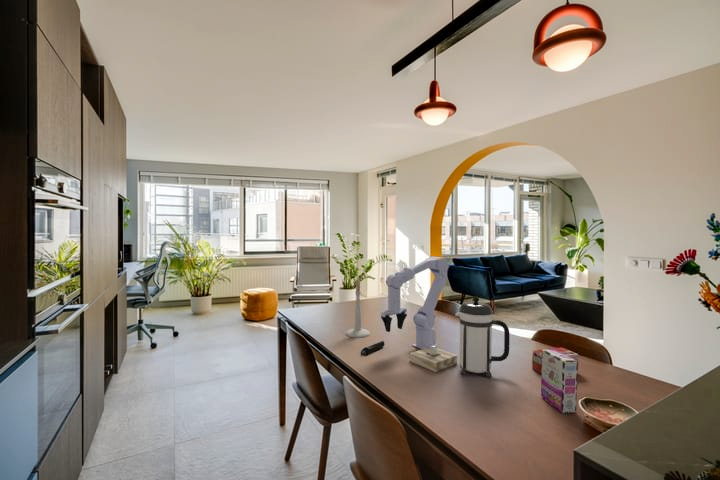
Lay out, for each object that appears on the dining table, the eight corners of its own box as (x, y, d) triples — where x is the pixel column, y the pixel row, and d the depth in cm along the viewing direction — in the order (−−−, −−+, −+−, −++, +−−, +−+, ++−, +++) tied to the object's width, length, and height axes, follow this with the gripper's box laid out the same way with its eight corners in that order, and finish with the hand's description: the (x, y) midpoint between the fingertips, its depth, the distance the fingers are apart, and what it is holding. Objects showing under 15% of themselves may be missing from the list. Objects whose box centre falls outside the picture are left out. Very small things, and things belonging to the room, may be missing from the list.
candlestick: (374, 333, 188) (374, 278, 187) (361, 339, 177) (361, 281, 176) (354, 329, 195) (354, 276, 194) (341, 335, 184) (341, 279, 183)
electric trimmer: (386, 348, 165) (386, 341, 165) (366, 356, 154) (366, 349, 153) (380, 346, 168) (380, 339, 168) (359, 354, 156) (359, 347, 156)
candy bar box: (577, 413, 106) (578, 360, 105) (562, 414, 105) (563, 361, 105) (554, 396, 117) (555, 348, 117) (540, 396, 117) (541, 348, 116)
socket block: (431, 353, 156) (431, 346, 156) (457, 363, 145) (457, 355, 145) (409, 361, 148) (409, 353, 147) (435, 371, 137) (435, 363, 136)
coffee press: (477, 383, 126) (478, 302, 125) (447, 367, 140) (448, 294, 140) (510, 374, 134) (511, 298, 133) (478, 360, 148) (479, 291, 148)
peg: (431, 360, 149) (431, 344, 149) (438, 362, 147) (438, 345, 146) (427, 362, 146) (427, 346, 146) (434, 364, 144) (434, 347, 144)
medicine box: (547, 378, 132) (547, 357, 132) (531, 369, 140) (531, 350, 139) (578, 373, 136) (579, 353, 135) (561, 366, 144) (562, 347, 143)
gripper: (388, 304, 151) (388, 334, 152) (411, 300, 160) (411, 329, 161) (378, 301, 157) (377, 331, 157) (400, 297, 166) (400, 325, 166)
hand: (393, 330), depth 159 cm, fingers open, 7 cm apart
